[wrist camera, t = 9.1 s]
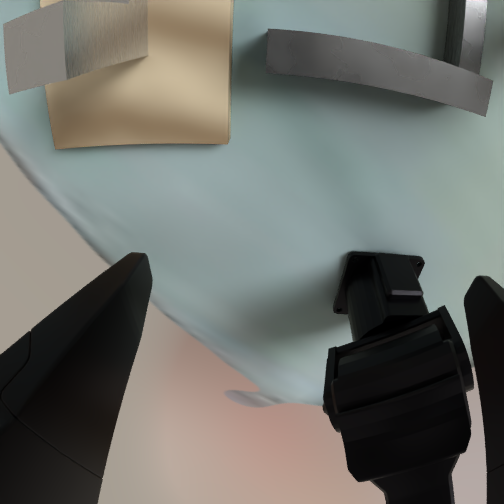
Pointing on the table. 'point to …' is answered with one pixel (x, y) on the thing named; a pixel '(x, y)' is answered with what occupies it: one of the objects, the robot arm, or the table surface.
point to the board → (155, 84)
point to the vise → (394, 60)
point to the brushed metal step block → (73, 40)
